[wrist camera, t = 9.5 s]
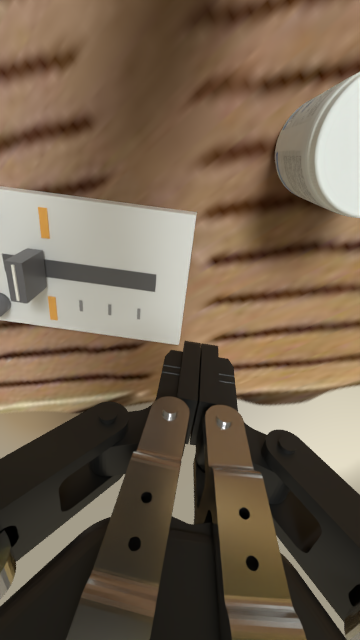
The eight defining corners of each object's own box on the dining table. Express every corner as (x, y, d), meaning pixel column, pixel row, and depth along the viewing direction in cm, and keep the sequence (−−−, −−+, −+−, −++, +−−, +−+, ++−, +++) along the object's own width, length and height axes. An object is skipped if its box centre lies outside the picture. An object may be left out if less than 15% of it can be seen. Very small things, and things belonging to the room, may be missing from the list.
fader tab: (27, 248, 38) (2, 261, 34) (42, 250, 38) (20, 263, 34) (32, 285, 41) (9, 301, 36) (47, 287, 41) (26, 304, 36)
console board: (-32, 181, 37) (-55, 185, 34) (196, 212, 37) (195, 218, 33) (-5, 311, 46) (-21, 324, 43) (180, 337, 46) (177, 352, 42)
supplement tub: (348, 200, 35) (429, 230, 22) (264, 194, 35) (296, 219, 22) (381, 96, 30) (509, 56, 17) (284, 90, 31) (338, 46, 18)
